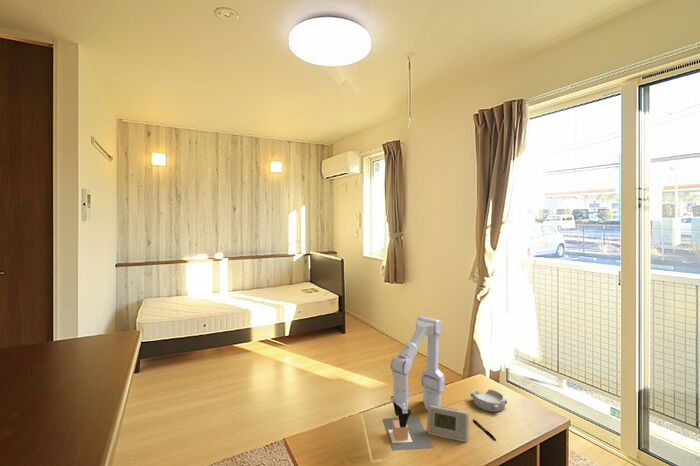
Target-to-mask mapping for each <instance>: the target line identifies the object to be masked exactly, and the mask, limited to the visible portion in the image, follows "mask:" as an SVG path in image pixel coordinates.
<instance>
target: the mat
mask: <svg viewBox="0 0 700 466" xmlns="http://www.w3.org/2000/svg"><path fill="white" fill-rule="evenodd" d="M419 418H420V417H419V416H409V417H408V420H407V426H408V439H406V440H395V438H394V435H393V432H392V430H393V420H399V417H391V418H390V417H389V418H382V422H383V426H384V428H385V432H386V435H387V439H388V441H389V445H390V447H391V451H406V450H409V451H410V450H424V449H434V446H433V444H432V442H431V439H430V438H429V436H428V433H427V431H426V429H425V428H424V426H423V424H422V423H421V420H420V419H419Z"/></svg>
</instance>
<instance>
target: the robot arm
mask: <svg viewBox="0 0 700 466" xmlns="http://www.w3.org/2000/svg"><path fill="white" fill-rule="evenodd" d="M442 324H443V322H442V321H441V319H435V318H430V317H427V316H423V315H419V317H417V319H416V321H415V331H414V333H413V335H412V336H411V338H410V340H409V342H406V343H405V344H404V346H403V347H402V349H401V350H400V352H399V354H397V355H396V356H394V357H392V359H391V362H390V370H391V371H392V372H391V374H392V376H393V389H392V391H393V395H391V397H390V402H392V404H393V408H394V414H395V417H397V418H399V424H400V427H406V424H407V420H408V417H410V415H412V414H411V413H412V410H411V409H409V408H408V406H409V373H410V372H411V370H412V369H411V368H412V365H413V361H414V358H415V357H416V355H417V354H418V350H419V349H418V347H419V346H420V343H421V342H422V341H424V338H425V337H427V353H426V356H427V359H426V368H425V369H424V370H423V371H422V373H421V378H420V385H421V386H422V387H423V388H422V403H423V405H424V408H425V410H426V411H428V406H429V405H433V406H438V407H439V406H441V401H442V392H443V391H444V390H445V388H446V381H445V375H444V373H443V372H442V371H441V370H440V369H439V355H440V354H439V353H440V352H439V348H440V336H442V332H443V331H442V329H443V325H442ZM441 407H442V406H441Z"/></svg>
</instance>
